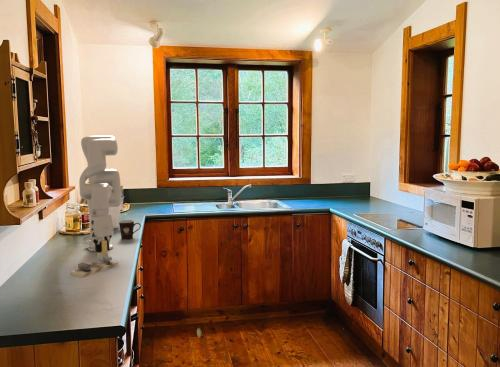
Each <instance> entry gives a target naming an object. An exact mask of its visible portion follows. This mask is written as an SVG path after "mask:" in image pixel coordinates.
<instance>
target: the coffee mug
mask: <svg viewBox="0 0 500 367" xmlns="http://www.w3.org/2000/svg"><path fill="white" fill-rule="evenodd" d="M136 225H139V227H138V229H136V230H135V231H134V229H135V228H134V227H135V226H136ZM118 227H119V231H120V232H119V233H120V237H121V240H132V239H133V238H134V234H135V233H137V231H139V230H140V229H141V227H142V226H141V224H140V222H136V223H135V220H133V219H123V220H119V226H118Z"/></svg>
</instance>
